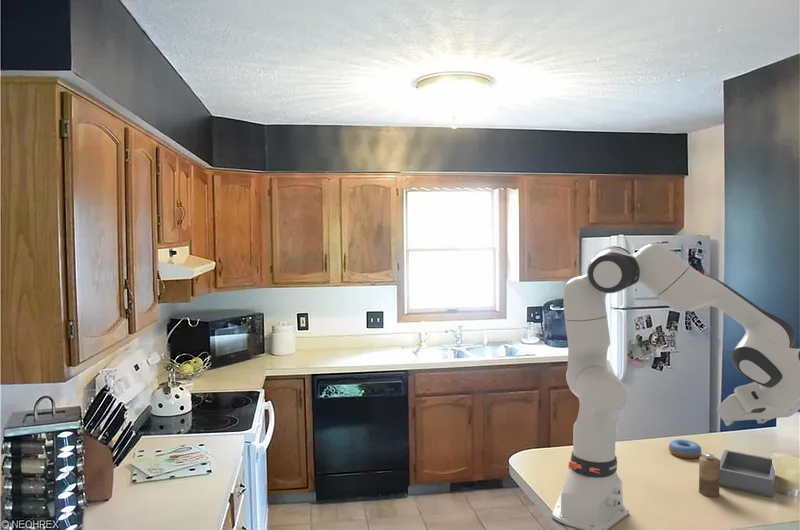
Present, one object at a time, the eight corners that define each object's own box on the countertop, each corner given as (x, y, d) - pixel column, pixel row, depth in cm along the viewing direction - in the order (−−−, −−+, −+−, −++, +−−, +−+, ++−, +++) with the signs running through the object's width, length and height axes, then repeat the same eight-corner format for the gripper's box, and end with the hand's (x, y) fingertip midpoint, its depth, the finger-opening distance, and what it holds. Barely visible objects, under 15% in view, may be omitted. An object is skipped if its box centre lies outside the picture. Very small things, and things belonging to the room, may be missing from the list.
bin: (772, 497, 163) (772, 480, 163) (716, 485, 172) (716, 468, 171) (776, 475, 178) (776, 459, 178) (724, 464, 186) (724, 449, 186)
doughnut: (707, 459, 190) (706, 445, 191) (677, 461, 190) (676, 447, 191) (692, 450, 200) (691, 437, 201) (664, 452, 200) (663, 439, 201)
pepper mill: (717, 498, 163) (718, 460, 162) (697, 494, 166) (698, 456, 165) (720, 492, 167) (721, 454, 166) (700, 487, 170) (701, 450, 170)
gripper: (802, 382, 146) (771, 408, 157) (730, 387, 143) (703, 413, 153) (817, 405, 142) (784, 430, 152) (743, 410, 139) (714, 435, 149)
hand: (743, 422), depth 153 cm, fingers open, 8 cm apart
